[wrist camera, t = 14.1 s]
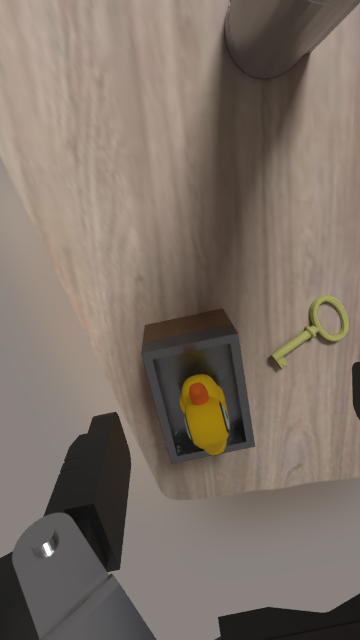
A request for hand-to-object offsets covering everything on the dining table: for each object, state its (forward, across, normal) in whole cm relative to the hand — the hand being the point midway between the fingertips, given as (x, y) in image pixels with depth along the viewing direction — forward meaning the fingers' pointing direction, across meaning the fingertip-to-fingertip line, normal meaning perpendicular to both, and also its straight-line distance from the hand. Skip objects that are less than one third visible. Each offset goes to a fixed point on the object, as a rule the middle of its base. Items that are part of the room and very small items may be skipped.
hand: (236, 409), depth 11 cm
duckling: (+27, +1, +16) cm, 31 cm away
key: (+34, -16, +14) cm, 40 cm away
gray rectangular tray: (+33, +1, +16) cm, 37 cm away
